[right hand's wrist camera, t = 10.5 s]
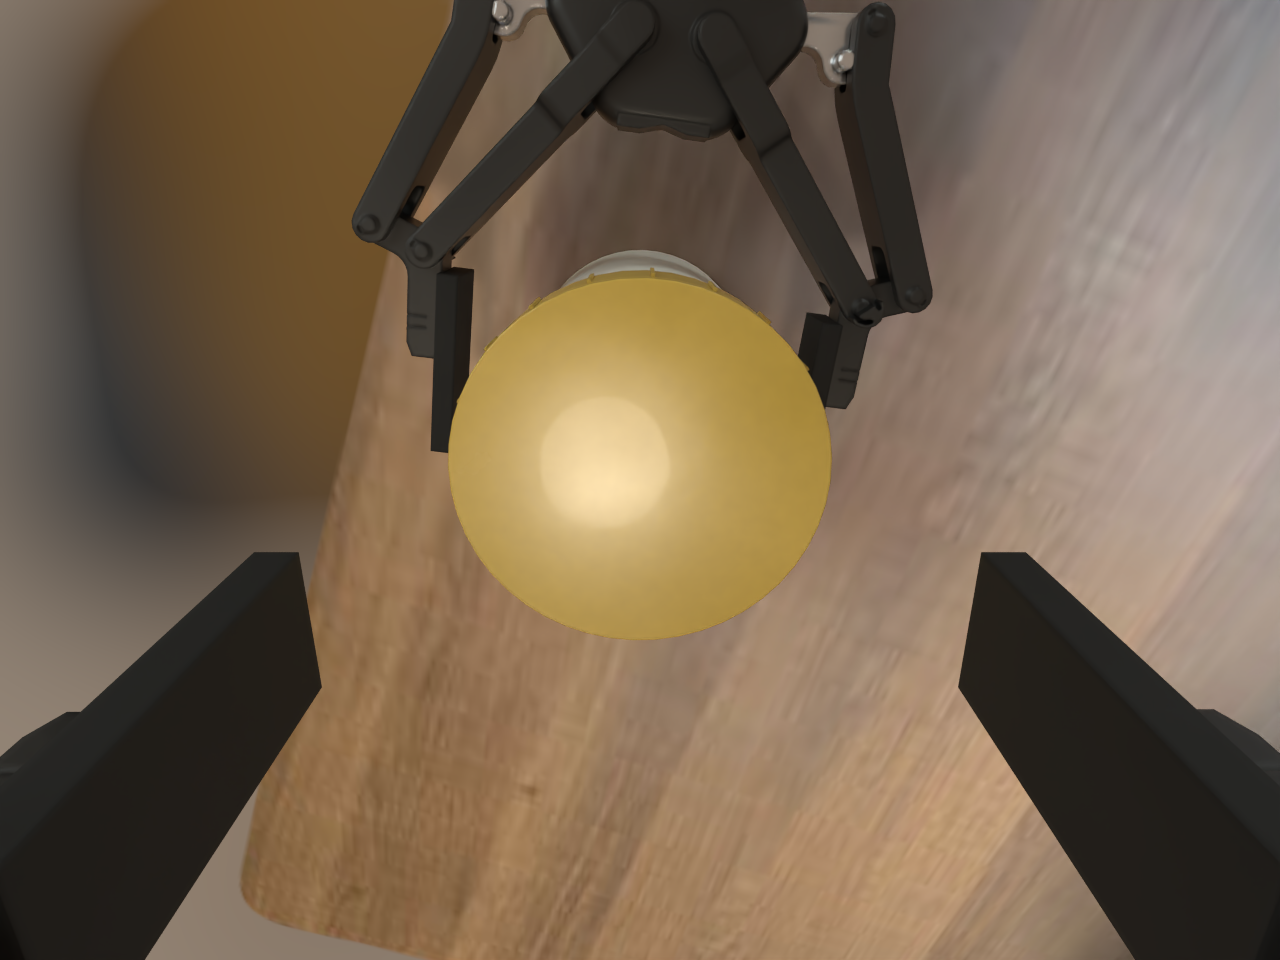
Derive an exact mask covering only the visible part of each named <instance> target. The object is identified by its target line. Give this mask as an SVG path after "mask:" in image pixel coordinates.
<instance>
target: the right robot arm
mask: <svg viewBox="0 0 1280 960" xmlns="http://www.w3.org/2000/svg"><path fill="white" fill-rule="evenodd" d="M321 688H322V685H321V679H320V674H319V668H318V662H317V656H316V650H315V645H314V639H313V633H312V627H311V621H310V616H309V610H308V604H307V598H306V592H305V587H304V581H303V575H302V569H301V563H300V558H299V553H298V552H254V553H253V554H252V555H251V556H250V557H249V558H247V559H246V560H245V561H244V562H243V563H242V564H241V565H240V566H239V567H238V568H237V569H236V570H234V571H233V572H232V573H231V574H230V575H229V576H228V577H227V578H226V579H225V580H224V581H222V582H221V583H220V584H219V585H218V586H217V587H216V588H215V589H214V590H213V591H212V592H211V593H209V594H208V595H207V596H206V597H205V598H204V599H203V600H202V601H201V602H200V603H199V604H198V605H196V606H195V607H194V608H193V609H192V610H191V611H190V612H189V613H188V614H187V615H186V616H184V617H183V618H182V619H181V620H180V621H179V622H178V623H177V624H176V625H175V626H174V627H173V628H171V629H170V630H169V631H168V632H167V633H166V634H165V635H164V636H163V637H162V638H161V639H159V640H158V641H157V642H156V643H155V644H154V645H153V646H152V647H151V648H150V649H149V650H148V651H146V652H145V653H144V654H143V655H142V656H141V657H140V658H139V659H138V660H137V661H136V662H135V663H133V664H132V665H131V666H130V667H129V668H128V669H127V670H126V671H125V672H124V673H123V674H121V675H120V676H119V677H118V678H117V679H116V680H115V681H114V682H113V683H112V684H111V685H109V686H108V687H107V688H106V689H105V690H104V691H103V692H102V693H101V694H100V695H99V696H98V697H96V698H95V699H94V700H93V701H92V702H91V703H90V704H89V705H88V706H87V707H86V708H84V709H83V710H82V711H81V712H66V713H64V714H62V715H61V716H59V717H57V718H55V719H54V720H52V721H50V722H49V723H47V724H45V725H43V726H42V727H40V728H38V729H36V730H35V731H33V732H31V733H29V734H28V735H26V736H24V737H22V738H21V739H20V740H19V741H18V742H17V743H16V744H14V745H13V746H12V747H11V748H10V749H9V750H7V751H6V752H5V753H4V754H3V755H2V756H1V757H0V960H145V959H146V957H147V955H148V954H149V952H150V951H151V949H152V948H153V946H154V945H155V943H156V942H157V940H158V939H159V937H160V935H161V934H162V932H163V931H164V929H165V928H166V926H167V925H168V923H169V922H170V920H171V919H172V917H173V915H174V914H175V912H176V911H177V909H178V908H179V906H180V905H181V903H182V902H183V900H184V899H185V897H186V895H187V894H188V892H189V891H190V889H191V888H192V886H193V885H194V883H195V882H196V880H197V879H198V877H199V875H200V874H201V872H202V871H203V869H204V868H205V866H206V865H207V863H208V862H209V860H210V858H211V857H212V855H213V854H214V852H215V851H216V849H217V848H218V846H219V845H220V843H221V842H222V840H223V839H224V837H225V835H226V834H227V832H228V831H229V829H230V828H231V826H232V825H233V823H234V822H235V820H236V819H237V817H238V815H239V814H240V812H241V811H242V809H243V808H244V806H245V805H246V803H247V801H248V800H249V798H250V797H251V795H252V794H253V792H254V791H255V789H256V788H257V786H258V785H259V783H260V782H261V780H262V778H263V777H264V775H265V774H266V772H267V771H268V769H269V768H270V766H271V765H272V763H273V762H274V760H275V758H276V757H277V755H278V754H279V752H280V751H281V749H282V748H283V746H284V745H285V743H286V742H287V740H288V738H289V737H290V735H291V734H292V732H293V731H294V729H295V728H296V726H297V725H298V723H299V722H300V720H301V718H302V717H303V715H304V714H305V712H306V711H307V709H308V708H309V706H310V705H311V703H312V702H313V700H314V698H315V697H316V695H317V694H318V692H319V691H320V689H321ZM958 688H959V689H960V691H961V692H962V694H963V695H964V697H965V698H966V700H967V702H968V703H969V705H970V706H971V708H972V709H973V711H974V712H975V714H976V715H977V717H978V718H979V720H980V722H981V723H982V725H983V726H984V728H985V729H986V731H987V732H988V734H989V735H990V737H991V738H992V740H993V742H994V743H995V745H996V746H997V748H998V749H999V751H1000V752H1001V754H1002V755H1003V757H1004V758H1005V760H1006V762H1007V763H1008V765H1009V766H1010V768H1011V769H1012V771H1013V772H1014V774H1015V775H1016V777H1017V778H1018V780H1019V782H1020V783H1021V785H1022V786H1023V788H1024V789H1025V791H1026V792H1027V794H1028V795H1029V797H1030V798H1031V800H1032V802H1033V803H1034V805H1035V806H1036V808H1037V809H1038V811H1039V812H1040V814H1041V815H1042V817H1043V819H1044V820H1045V822H1046V823H1047V825H1048V826H1049V828H1050V829H1051V831H1052V832H1053V834H1054V835H1055V837H1056V839H1057V840H1058V842H1059V843H1060V845H1061V846H1062V848H1063V849H1064V851H1065V852H1066V854H1067V855H1068V857H1069V859H1070V860H1071V862H1072V863H1073V865H1074V866H1075V868H1076V869H1077V871H1078V872H1079V874H1080V875H1081V877H1082V879H1083V880H1084V882H1085V883H1086V885H1087V886H1088V888H1089V889H1090V891H1091V892H1092V894H1093V895H1094V897H1095V899H1096V900H1097V902H1098V903H1099V905H1100V906H1101V908H1102V909H1103V911H1104V912H1105V914H1106V915H1107V917H1108V919H1109V920H1110V922H1111V923H1112V925H1113V926H1114V928H1115V929H1116V931H1117V932H1118V934H1119V936H1120V937H1121V939H1122V940H1123V942H1124V943H1125V945H1126V946H1127V948H1128V949H1129V951H1130V952H1131V954H1132V956H1133V957H1134V959H1135V960H1280V753H1279V752H1278V751H1277V750H1275V749H1274V748H1273V747H1272V746H1271V745H1270V744H1269V743H1267V742H1266V741H1265V740H1264V739H1263V738H1262V737H1260V736H1259V735H1258V734H1256V733H1254V732H1253V731H1251V730H1249V729H1247V728H1246V727H1244V726H1242V725H1240V724H1239V723H1237V722H1235V721H1233V720H1232V719H1230V718H1228V717H1226V716H1225V715H1223V714H1221V713H1219V712H1218V711H1216V710H1214V709H1196V708H1194V707H1193V706H1192V705H1191V704H1190V703H1189V702H1188V701H1187V700H1186V699H1185V698H1184V697H1182V696H1181V695H1180V694H1179V693H1178V692H1177V691H1176V690H1175V689H1174V688H1173V687H1172V686H1171V685H1169V684H1168V683H1167V682H1166V681H1165V680H1164V679H1163V678H1162V677H1161V676H1160V675H1159V674H1157V673H1156V672H1155V671H1154V670H1153V669H1152V668H1151V667H1150V666H1149V665H1148V664H1147V663H1146V662H1144V661H1143V660H1142V659H1141V658H1140V657H1139V656H1138V655H1137V654H1136V653H1135V652H1134V651H1132V650H1131V649H1130V648H1129V647H1128V646H1127V645H1126V644H1125V643H1124V642H1123V641H1122V640H1121V639H1119V638H1118V637H1117V636H1116V635H1115V634H1114V633H1113V632H1112V631H1111V630H1110V629H1109V628H1107V627H1106V626H1105V625H1104V624H1103V623H1102V622H1101V621H1100V620H1099V619H1098V618H1097V617H1096V616H1094V615H1093V614H1092V613H1091V612H1090V611H1089V610H1088V609H1087V608H1086V607H1085V606H1084V605H1082V604H1081V603H1080V602H1079V601H1078V600H1077V599H1076V598H1075V597H1074V596H1073V595H1072V594H1071V593H1069V592H1068V591H1067V590H1066V589H1065V588H1064V587H1063V586H1062V585H1061V584H1060V583H1059V582H1058V581H1056V580H1055V579H1054V578H1053V577H1052V576H1051V575H1050V574H1049V573H1048V572H1047V571H1046V570H1044V569H1043V568H1042V567H1041V566H1040V565H1039V564H1038V563H1037V562H1036V561H1035V560H1034V559H1033V558H1031V557H1030V556H1029V555H1028V554H1027V553H1026V552H981V558H980V563H979V569H978V575H977V581H976V587H975V592H974V598H973V604H972V610H971V616H970V621H969V627H968V633H967V639H966V645H965V650H964V656H963V662H962V668H961V674H960V679H959V685H958Z"/></svg>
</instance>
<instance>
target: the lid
mask: <svg viewBox="0 0 1280 960" xmlns="http://www.w3.org/2000/svg"><path fill="white" fill-rule="evenodd" d="M770 323H771V321H770V320H769V319H768V318H766V317H765V316H764V315H763V314H762V313H761V312H760V311H759V312H758V313H756V312H755V311H754V310H752V309H751V308H750V307H749V306H747V305H746V304H745V303H743V302H742V301H741V300H739V299H738V298H736V297H734V296H732V295H731V294H729V293H727V292H725V291H723V290H722V289H720V288H718V287H716V286H715V284H714V283H713V282H712V281H708V283H705V282H703V281H700V280H698V279H695V278H691V277H687V276H683V275H679V274H675V273H670V272H661V271H655V270H654V268H652V267H650V270H631V271H618V272H612V273H606V274H600V275H596V276H595V275H594V273H592V274H590V275H589V277H588V278H586V279H583V280H580V281H576V282H574V283H571V284H569V285H567V286H565V287H563V288H561V289H559V290H556V291H554V292H552V293H551V294H549V295H548V296H546V297H544V298H543V299H541V298H540V297H538V298H537V299H536V300H535V301H534V302H533V303H532V304H531V305H530V306H529V309H527V310H526V311H525V312H524V313H523V314H522V315H520V316H519V317H518V318H517V319H516V320H515V321H514V322H513V323H512V324H511V325H510V326H508V327H507V328H506V329H505V330H504V331H503V332H502V333H501V334H500V336H499V337H497V336H496V337H495V338H494V339H493V340H492V341H491V342H490V343H489V344H488V345H487V346H486V347H485V348H484V350H485V351H486V352H485V353H484V354H483V355H482V357H481V359H480V360H479V362H478V363H477V365H476V366H475V368H474V369H473V371H472V372H471V374H470V376H469V378H468V380H467V382H466V384H465V386H464V389H463V391H462V393H461V395H460V397H459V398H458V400H457V403H458V404H457V407H456V410H455V413H454V417H453V420H452V426H451V432H450V439H449V451H448V470H449V478H450V486H451V493H452V497H453V500H454V504H455V508H456V512H457V515H458V517H459V520H460V522H461V525H462V527H463V529H464V532H465V534H466V536H467V538H468V540H469V542H470V543H471V545H472V547H473V548H474V550H475V552H476V554H477V555H478V557H479V558H480V559H481V561H482V562H483V563H484V565H485V566H486V567H487V569H488V570H489V571H490V572H491V574H492V575H493V576H494V577H495V578H496V579H497V580H498V581H499V582H500V583H501V584H502V585H503V586H504V587H505V588H506V589H507V590H508V591H509V592H510V593H512V594H513V595H514V596H516V597H517V598H518V599H519V600H521V601H522V602H523V603H524V604H526V605H527V606H529V607H530V608H532V609H534V610H535V611H537V612H539V613H540V614H542V615H544V616H545V617H547V618H549V619H552V620H554V621H556V622H558V623H560V624H562V625H565V626H567V627H570V628H573V629H576V630H579V631H582V632H585V633H588V634H593V635H598V636H603V637H608V638H616V639H627V640H657V639H664V638H671V637H678V636H683V635H686V634H690V633H694V632H698V631H702V630H704V629H707V628H710V627H712V626H715V625H717V624H720V623H723V622H725V621H727V620H728V619H730V618H732V617H734V616H736V615H738V614H740V613H742V612H744V611H745V610H746V609H748V608H749V607H751V606H752V605H754V604H755V603H757V602H758V601H760V600H761V599H762V598H764V597H765V596H766V595H767V594H768V593H769V592H770V591H771V590H773V589H774V588H775V587H776V586H777V585H778V584H779V583H780V582H781V581H782V580H783V579H784V578H785V577H786V575H787V574H788V573H789V572H790V571H791V570H792V569H793V568H794V566H795V565H796V564H797V562H798V561H799V559H800V558H801V556H802V555H803V553H804V552H805V550H806V549H807V547H808V545H809V543H810V541H811V539H812V538H813V536H814V534H815V532H816V530H817V528H818V525H819V522H820V520H821V517H822V514H823V511H824V508H825V505H826V501H827V496H828V491H829V486H830V481H831V465H832V452H831V439H830V431H829V426H828V425H829V424H828V421H827V417H826V413H825V409H824V406H823V404H822V401H821V398H820V396H819V393H818V390H817V388H816V386H815V384H814V382H813V380H812V378H811V377H810V375H809V373H808V370H809V368H808V367H807V366H806V365H805V364H804V363H803V362H802V361H801V360H800V359H799V357H798V356H797V355H796V353H795V352H794V351H793V349H792V348H791V347H790V345H789V344H788V343H787V342H786V341H785V340H784V339H783V338H782V337H781V336H780V335H779V334H778V333H777V332H776V331H775V330H774V329H773V328H772V327H771V326H770V325H769V324H770Z"/></svg>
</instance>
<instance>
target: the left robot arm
mask: <svg viewBox="0 0 1280 960" xmlns="http://www.w3.org/2000/svg"><path fill="white" fill-rule="evenodd" d="M540 14H544V15H548V17H549V20H550V22H551V24H552V26H553V28H554V30H555V32H556V33H557V35H558V37H559V39H560V41H561V43H562V45H563V47H564V49H565V51H566V53H567V55H568V57H569V59H570V62H569V63H568V64H567V66H566V67H565V68H564V69H563V70H562V71H561V72H560V73H559V74H558V75H557V76H556V77H555V78H554V79H553V80H552V82H551V83H550V84H549V85H548V86H547V87H546V88H545V89H544V90H543V91H542V93H541V94H540V95H539V97H538V99H537V101H536V102H535V103H534V105H533V106H532V107H531V108H530V109H529V110H528V111H527V112H526V113H525V114H524V115H523V116H522V118H521V119H520V120H519V121H518V122H517V123H516V124H515V125H514V126H513V127H512V128H511V129H510V130H509V131H508V132H507V134H506V135H505V136H504V137H503V138H502V139H501V140H500V141H499V142H498V143H497V144H496V145H495V146H494V147H493V148H492V150H491V151H490V152H489V153H488V154H487V155H486V156H485V157H484V158H483V159H482V160H481V161H480V162H479V163H478V164H477V165H476V167H475V168H474V169H473V170H472V171H471V172H470V173H469V174H468V175H467V176H466V177H465V178H464V179H463V180H462V181H461V183H460V184H459V185H458V186H457V187H456V188H455V189H454V190H453V191H452V192H451V193H450V194H449V195H448V196H447V197H446V199H445V200H444V201H443V202H442V203H441V204H440V205H439V206H438V207H437V208H436V209H435V210H434V211H433V212H432V213H431V214H430V216H429V217H428V218H427V219H426V220H425V221H424V222H423V223H422V222H421V221H419V220H417V219H415V218H413V217H414V215H415V213H416V211H417V209H418V207H419V205H420V204H421V202H422V200H423V198H424V196H425V194H426V192H427V190H428V189H429V187H430V185H431V183H432V181H433V179H434V177H435V175H436V174H437V172H438V170H439V168H440V166H441V164H442V162H443V160H444V159H445V157H446V155H447V153H448V151H449V149H450V147H451V145H452V144H453V142H454V140H455V138H456V136H457V134H458V132H459V130H460V129H461V127H462V125H463V123H464V121H465V119H466V117H467V115H468V114H469V112H470V110H471V108H472V106H473V104H474V102H475V100H476V98H477V97H478V95H479V93H480V91H481V89H482V87H483V85H484V83H485V82H486V80H487V78H488V76H489V74H490V72H491V70H492V68H493V66H494V64H495V61H496V59H497V57H498V54H499V51H500V48H501V44H502V40H503V41H514V40H516V39H518V38H519V37H520V36H521V35H522V34H523V32H524V29H525V27H526V25H527V23H528V22H529V20H530V19H531V18H533V17H534V16H536V15H540ZM894 32H895V15H894V13H893V11H892V9H891V8H890V7H889V6H888V5H887V4H885V3H881V2H876V3H871V4H870V5H868V6H867V7H865V8H864V9H863V10H862V11H860V12H857V13H835V12H807V10H806V7H805V4H804V1H803V0H454V5H453V12H452V19H451V22H450V24H449V26H448V28H447V30H446V32H445V34H444V36H443V38H442V40H441V42H440V44H439V46H438V48H437V50H436V52H435V54H434V56H433V58H432V60H431V62H430V64H429V66H428V68H427V70H426V72H425V74H424V76H423V78H422V80H421V82H420V84H419V86H418V88H417V90H416V92H415V94H414V96H413V98H412V99H411V102H410V103H409V105H408V108H407V109H406V111H405V113H404V115H403V117H402V119H401V121H400V123H399V125H398V127H397V129H396V131H395V133H394V135H393V137H392V139H391V141H390V143H389V145H388V147H387V149H386V151H385V153H384V155H383V157H382V159H381V161H380V163H379V165H378V167H377V169H376V171H375V173H374V175H373V177H372V179H371V180H370V183H369V184H368V186H367V188H366V190H365V192H364V194H363V196H362V198H361V200H360V202H359V204H358V206H357V208H356V210H355V212H354V214H353V218H352V228H353V230H354V232H355V234H356V235H357V236H358V237H359V238H360V239H361V240H363V241H366V242H368V243H375V244H377V245H379V246H381V247H383V248H385V249H387V250H389V251H391V252H393V253H394V254H396V255H397V256H399V257H400V258H401V260H402V261H403V262H404V264H405V266H406V269H407V273H408V293H407V344H408V347H409V350H410V352H411V355H412V356H418V357H426V358H434V365H433V396H432V427H431V451H436V452H445V453H448V451H449V439H450V432H451V426H452V420H453V417H454V413H455V410H456V407H457V404H458V403H457V400H458V398H459V397H460V395H461V393H462V391H463V389H464V386H465V384H466V382H467V380H468V378H469V363H470V343H471V322H472V302H473V281H474V269H466V268H459V267H453V268H451V263H452V260H453V259H454V258H455V257H454V255H455V254H456V253H457V252H458V251H459V250H460V249H461V248H462V247H463V246H464V245H465V244H466V243H467V242H468V241H469V240H470V239H471V238H472V237H473V236H474V235H475V234H476V233H477V232H478V231H479V230H480V229H481V228H482V227H483V225H484V224H485V223H486V222H487V221H488V220H489V219H490V218H491V217H492V216H493V215H494V214H495V213H496V212H497V211H498V210H499V209H500V208H501V207H502V206H503V205H504V204H505V203H506V202H507V201H508V200H509V199H510V198H511V196H512V195H513V194H514V193H515V192H516V191H517V190H518V189H519V188H520V187H521V186H522V185H523V184H524V183H525V182H526V181H527V180H528V179H529V178H530V177H531V176H532V175H533V174H534V173H535V172H536V171H537V170H538V169H539V168H540V166H541V165H542V164H543V163H544V162H545V161H546V160H547V159H548V158H549V157H550V156H551V155H552V154H553V153H554V152H555V151H556V150H557V149H558V148H559V147H560V146H561V145H562V144H563V143H564V142H565V141H566V140H567V139H568V138H569V137H570V136H571V135H573V134H574V133H575V132H576V131H577V130H578V129H579V128H580V127H581V126H582V125H583V124H584V123H585V122H586V121H587V120H588V119H589V118H590V117H591V116H592V115H593V114H594V113H595V112H596V111H597V112H598V113H599V115H600V116H601V117H602V118H603V119H604V120H605V121H607V122H608V123H609V124H611V125H612V126H615V127H617V128H618V130H620V131H627V132H635V133H644V132H650V131H657V130H664V131H666V132H668V133H671V134H673V135H675V136H677V137H680V138H682V139H685V140H692V141H700V142H705V141H706V140H710V139H714V138H717V137H719V136H721V135H723V134H725V133H726V132H728V131H729V130H730V132H731V134H732V135H733V137H734V139H735V141H736V143H737V144H738V146H739V148H740V150H741V152H742V153H743V155H744V156H745V158H746V159H747V160H748V161H749V163H750V164H751V166H752V168H753V169H754V171H755V173H756V175H757V177H758V178H759V180H760V182H761V184H762V186H763V187H764V189H765V191H766V193H767V195H768V196H769V198H770V200H771V202H772V204H773V205H774V207H775V209H776V211H777V213H778V214H779V216H780V218H781V220H782V222H783V223H784V225H785V227H786V229H787V231H788V232H789V234H790V236H791V238H792V240H793V241H794V243H795V245H796V247H797V249H798V250H799V252H800V254H801V256H802V258H803V259H804V261H805V263H806V265H807V267H808V268H809V270H810V272H811V274H812V276H813V277H814V279H815V281H816V283H817V285H818V286H819V288H820V290H821V292H822V294H823V295H824V297H825V299H826V301H827V303H828V304H829V306H830V312H829V317H828V316H827V315H823V314H815V313H806V319H805V324H804V329H803V334H802V339H801V344H800V349H799V354H798V357H799V359H800V360H801V361H802V362H803V363H804V364H805V365H806V366H807V367H808V368H809V370H808V373H809V375H810V377H811V378H812V380H813V382H814V384H815V386H816V388H817V390H818V393H819V396H820V398H821V401H822V404H823V406H824V409H825V407H832V408H840V409H846V408H847V406H848V405H849V403H850V402H851V400H852V399H853V397H854V394H855V389H856V385H857V381H858V376H859V370H860V368H861V363H862V359H863V354H864V350H865V346H866V341H867V337H868V334H869V331H870V329H871V327H874V326H876V325H877V324H878V323H879V322H880V321H881V320H882V318H884V317H887V316H892V315H896V314H900V313H905V312H910V313H917V312H920V311H922V310H924V309H926V307H927V306H928V305H929V304H930V302H931V299H932V286H931V281H930V276H929V272H928V267H927V262H926V257H925V253H924V248H923V243H922V239H921V234H920V229H919V224H918V220H917V215H916V210H915V205H914V201H913V196H912V191H911V187H910V182H909V177H908V172H907V168H906V163H905V158H904V154H903V149H902V144H901V139H900V135H899V130H898V125H897V121H896V116H895V111H894V106H893V102H892V97H891V92H890V88H889V77H890V68H891V59H892V50H893V41H894ZM800 52H805V53H807V54H809V55H810V56H811V57H812V58H813V59H814V61H815V63H816V66H817V72H818V77H819V79H820V81H821V82H822V83H823V84H824V85H826V86H827V87H831V88H835V90H834V93H835V107H836V113H837V118H838V123H839V127H840V132H841V136H842V140H843V144H844V148H845V153H846V157H847V161H848V165H849V170H850V174H851V178H852V182H853V187H854V191H855V195H856V199H857V203H858V208H859V212H860V216H861V220H862V225H863V229H864V233H865V237H866V242H867V246H868V250H869V254H870V258H871V263H872V267H873V271H874V275H875V279H871V280H867V279H866V277H865V275H864V274H863V272H862V270H861V268H860V266H859V264H858V262H857V260H856V258H855V257H854V255H853V253H852V251H851V249H850V247H849V245H848V243H847V242H846V240H845V238H844V236H843V234H842V232H841V230H840V228H839V227H838V225H837V223H836V221H835V219H834V217H833V215H832V213H831V212H830V210H829V208H828V206H827V204H826V202H825V200H824V198H823V197H822V195H821V193H820V191H819V189H818V187H817V185H816V183H815V181H814V180H813V178H812V176H811V174H810V172H809V170H808V168H807V166H806V165H805V163H804V161H803V159H802V157H801V155H800V153H799V151H798V150H797V148H796V146H795V144H794V142H793V140H792V137H791V133H790V129H789V127H788V124H787V122H786V120H785V118H784V117H783V115H782V113H781V111H780V109H779V107H778V105H777V103H776V102H775V100H774V98H773V96H772V94H771V92H770V90H769V87H770V86H771V85H772V84H773V82H774V81H775V80H776V79H777V78H778V77H779V76H780V75H781V73H782V72H783V71H784V70H785V69H786V68H787V67H788V66H789V64H790V63H791V62H792V61H793V60H794V59H795V58H796V57H797V55H798V54H799V53H800Z"/></svg>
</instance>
